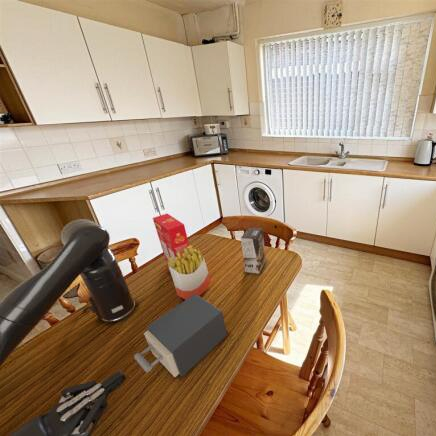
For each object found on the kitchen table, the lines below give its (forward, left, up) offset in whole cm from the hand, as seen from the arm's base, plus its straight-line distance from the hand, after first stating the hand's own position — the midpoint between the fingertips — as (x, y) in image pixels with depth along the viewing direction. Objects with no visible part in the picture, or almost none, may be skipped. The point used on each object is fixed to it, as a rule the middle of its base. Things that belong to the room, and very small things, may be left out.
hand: (123, 374), depth 54 cm
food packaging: (+1, +43, -7) cm, 44 cm away
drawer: (+9, +9, -6) cm, 14 cm away
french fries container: (+8, +32, -7) cm, 34 cm away
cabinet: (+11, +11, -7) cm, 17 cm away
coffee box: (+30, +44, -7) cm, 54 cm away
